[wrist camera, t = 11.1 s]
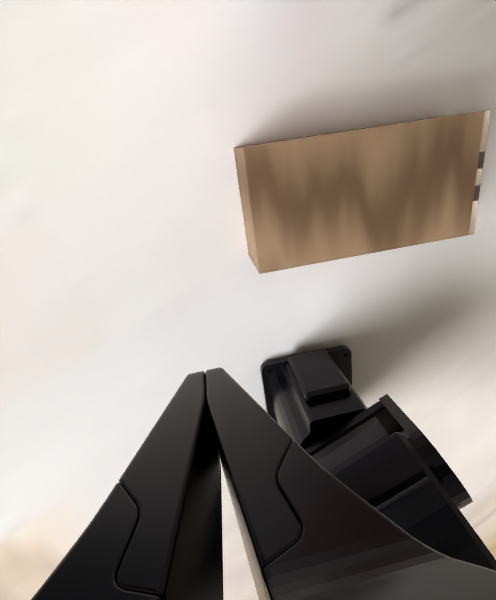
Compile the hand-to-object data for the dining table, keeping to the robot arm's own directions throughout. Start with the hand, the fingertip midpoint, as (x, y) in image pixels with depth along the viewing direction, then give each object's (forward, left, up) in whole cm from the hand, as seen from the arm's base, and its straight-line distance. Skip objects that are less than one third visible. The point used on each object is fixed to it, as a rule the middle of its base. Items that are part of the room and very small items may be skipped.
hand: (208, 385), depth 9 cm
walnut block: (+2, -15, -11) cm, 19 cm away
